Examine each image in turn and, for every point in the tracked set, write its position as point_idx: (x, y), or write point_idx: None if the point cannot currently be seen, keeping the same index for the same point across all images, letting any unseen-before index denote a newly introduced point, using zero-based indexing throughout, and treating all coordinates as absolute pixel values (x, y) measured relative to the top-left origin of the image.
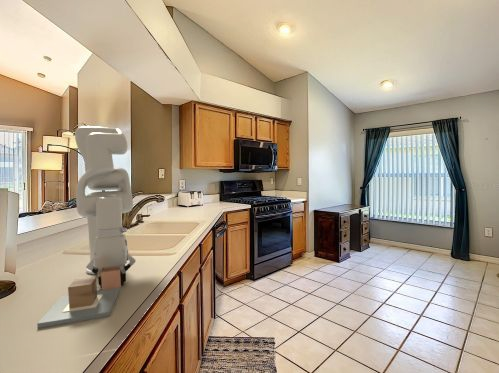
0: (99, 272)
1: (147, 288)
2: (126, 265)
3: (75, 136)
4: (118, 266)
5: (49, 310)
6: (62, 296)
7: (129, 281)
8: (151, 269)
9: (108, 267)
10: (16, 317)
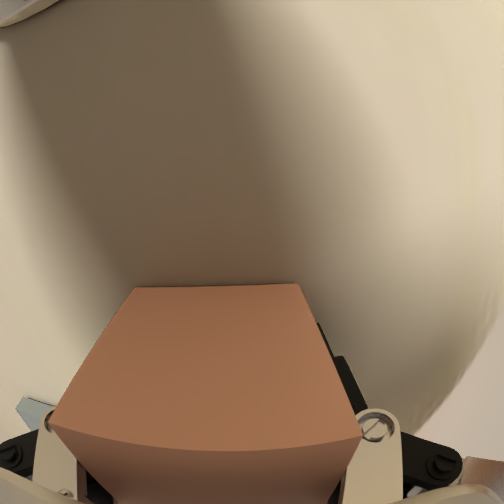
0: (100, 493)
1: (429, 399)
2: (410, 481)
3: None
4: (292, 468)
5: None
6: (25, 420)
7: (354, 275)
8: (481, 54)
9: (111, 452)
10: (6, 430)
